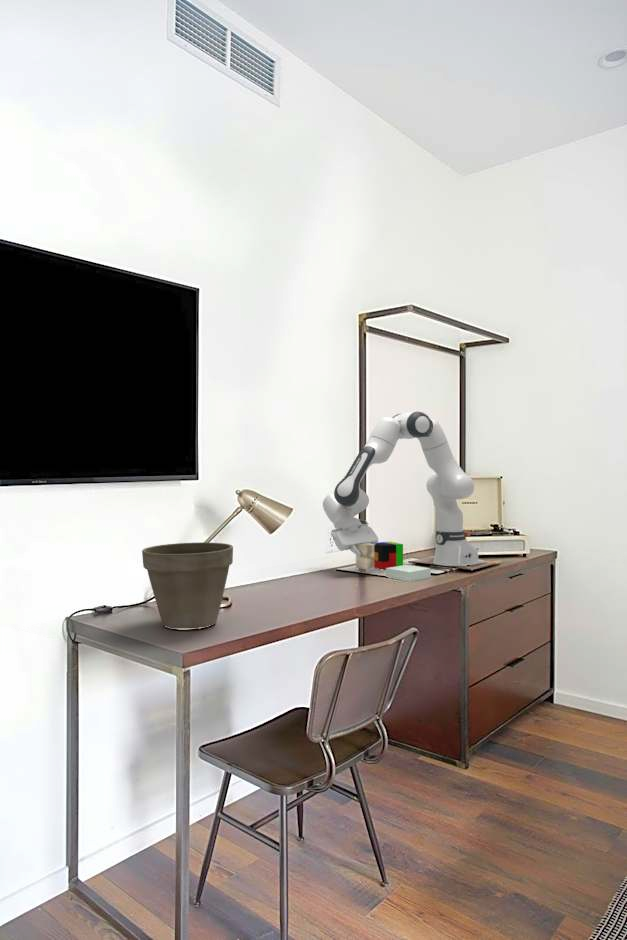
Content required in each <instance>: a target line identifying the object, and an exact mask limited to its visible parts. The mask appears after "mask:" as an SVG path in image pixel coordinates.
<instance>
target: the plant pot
mask: <svg viewBox="0 0 627 940" xmlns="http://www.w3.org/2000/svg"><path fill="white" fill-rule="evenodd" d="M141 554H142V555H141V556H142V564H143V565H142V566H143V568H144V569H145V570H146V571H147V574H148V575H147V576H148V579H149V582H150V586H151V589H152V593H153V596H154V600H155V603H156V607H157V610H158V615H159V618H160V620H161V621H160V622H161V623H162V626H163V625H164V626H167V627H170V628H199V627H206V626H209V625H212V624H215V625H216V623H217V622H218V618H219V614H220V610H221V605H222V601H223V597H224V593H225V588H226V584H227V579H228V574H229V569H230V566H231V565H232V564H233V562H234V561H233V560H234V547H233V545H231V544H229V543H223V542H179V543H167V544H159V545H154V546H149V547H145V548H143V549H142V550H141ZM164 626H163V627H164Z"/></svg>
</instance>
